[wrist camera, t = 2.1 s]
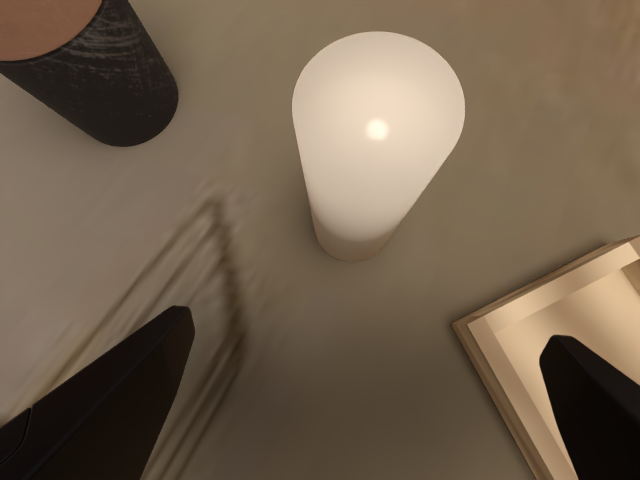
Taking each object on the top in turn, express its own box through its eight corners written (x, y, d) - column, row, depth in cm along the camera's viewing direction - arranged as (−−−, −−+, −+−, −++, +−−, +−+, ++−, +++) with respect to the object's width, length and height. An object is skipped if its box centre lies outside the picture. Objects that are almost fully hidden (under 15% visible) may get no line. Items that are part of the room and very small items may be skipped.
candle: (334, 275, 22) (338, 215, 9) (301, 208, 23) (264, 72, 10) (403, 241, 22) (498, 139, 10) (368, 177, 23) (411, 7, 11)
